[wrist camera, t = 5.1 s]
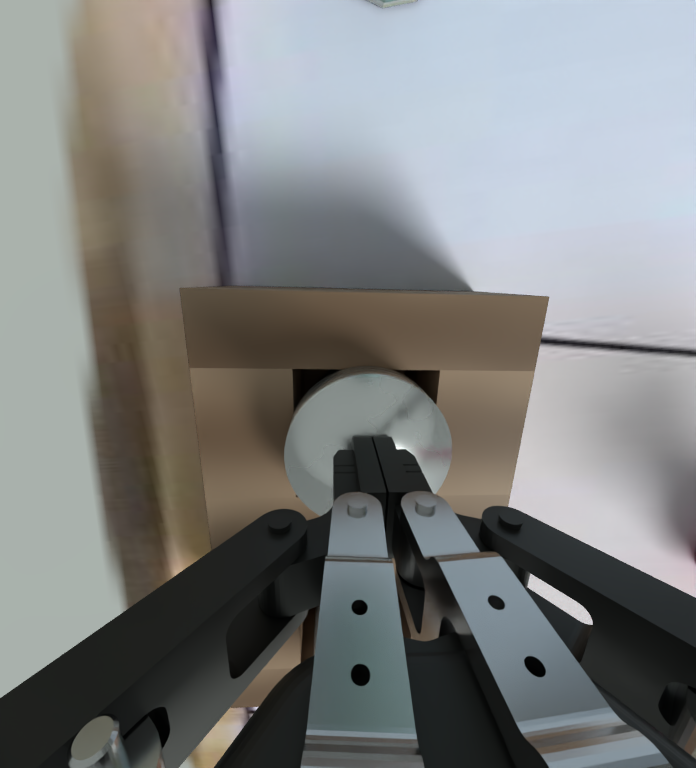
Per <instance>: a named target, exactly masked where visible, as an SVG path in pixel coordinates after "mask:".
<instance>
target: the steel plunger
mask: <svg viewBox="0 0 696 768" xmlns="http://www.w3.org/2000/svg"><path fill="white" fill-rule="evenodd" d="M352 437H371V438H372V437H392V439H393V441H394V443H395V446H396V448H397V449H406V450H407V451H409V452H410V453H411V454H413V455H414V456H415V458H416V460H417V462H418V464H419V466H420V468H421V470H422V473H423V474H424V476H425V478H426V480H427V482H428V484H429V486H430V488H431V490H432V492H433V493H434V494H436V493H437V491H438V490H439V489H440V487H441V486H442V484H443V482H444V480H445V478H446V476H447V473H448V470H449V467H450V463H451V458H452V439H451V434H450V430H449V427H448V424H447V422H446V419H445V418H444V416H443V414H442V412H441V411H440V409H439V408H438V407H437V406H436V404H435V403H434V402H433V401H432V400H431V398H430V397H429V396H428V395H427V394H426V393H425V392H424V390H423V389H422V388H421V387H420V386H419V385H418V384H416V383H415V382H414V381H413V380H411V379H410V378H408V377H407V376H405V375H403V374H401V373H399V372H397V371H394V370H391V369H388V368H383V367H378V366H356V367H351V368H346V369H329V370H328V371H327V372H326V373H325V375H324V376H323V378H322V380H320V381H319V382H317V383H316V384H315V385H314V386H313V387H311V388H310V389H309V390H308V392H307V393H306V394H305V395H304V396H303V398H302V399H301V400H300V402H299V403H298V405H297V407H296V409H295V411H294V414H293V417H292V420H291V423H290V427H289V430H288V434H287V438H286V443H285V448H284V462H285V470H286V473H287V477H288V480H289V482H290V484H291V487H292V488H293V490H294V491H295V493H296V495H297V496H298V497H299V498H300V500H301V501H302V502H303V503H304V504H305V505H306V506H307V507H308V508H309V509H311V510H312V511H313V512H315V513H316V514H318V515H319V516H322V515H324V514H325V513H327V512H328V511H329V510H330V509H331V508H332V506H333V457H334V455H335V454H336V453H337V451H338V450H352Z"/></svg>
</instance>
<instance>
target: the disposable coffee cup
mask: <svg viewBox="0 0 696 768" xmlns="http://www.w3.org/2000/svg"><path fill="white" fill-rule="evenodd" d="M367 1H369V2H371V3H373V4H375V5H377V6H379V7H381V8H386V7H391V6H396V5H401V4H406V3H411V2H416V1H418V0H367Z"/></svg>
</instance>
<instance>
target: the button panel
mask: <svg viewBox="0 0 696 768" xmlns="http://www.w3.org/2000/svg"><path fill="white" fill-rule="evenodd" d="M180 296H181V304H182V312H183V321H184V329H185V337H186V345H187V353H188V361H189V370H190V378H191V386H192V394H193V402H194V411H195V419H196V427H197V435H198V443H199V452H200V460H201V468H202V476H203V484H204V492H205V501H206V509H207V517H208V525H209V533H210V542H211V550H213V549H215V548H216V547H218V546H219V545H220V544H222V543H223V542H225V541H226V540H228V539H229V538H230V537H232V536H233V535H235V534H236V533H238V532H239V531H240V530H242V529H243V528H245V527H246V526H248V525H249V524H251V523H252V522H253V521H255V520H256V519H258V518H259V517H261V516H262V515H264V514H265V513H267V512H270V511H273V510H277V509H291V510H295V511H297V512H299V513H301V514H302V515H303V516H304V517H305V518H306V521H307V520H310V519H314V518H317V517H320V516H319V515H318V514H316V513H315V512H313V511H312V510H311V509H309V508H308V507H307V506H306V505H305V504H304V503H303V502H302V501H301V500H300V498H299V497H298V496H297V495H296V493H295V491H294V490H293V488H292V487H291V484H290V482H289V480H288V477H287V473H286V470H285V462H284V448H285V443H286V438H287V434H288V430H289V427H290V423H291V420H292V417H293V414H294V411H295V409H296V407H297V405H298V403H299V402H300V400H301V399H302V398H303V396H304V395H305V394H306V393H307V392H308V390H309V389H310V388H311V387H313V386H314V385H315V384H316V383H317V382H319V381H320V380H322V378H323V376H324V375H325V373H326V372H327V371H328V370H329V369H346V368H351V367H356V366H378V367H383V368H388V369H391V370H394V371H397V372H399V373H401V374H403V375H405V376H407V377H408V378H410V379H411V380H413V381H414V382H415V383H416V384H418V385H419V386H420V387H421V388H422V389H423V390H424V392H425V393H426V394H427V395H428V396H429V397H430V398H431V400H432V401H433V402H434V403H435V404H436V406H437V407H438V408H439V409H440V411H441V412H442V414H443V416H444V418H445V419H446V422H447V424H448V427H449V430H450V434H451V439H452V458H451V463H450V467H449V470H448V473H447V476H446V478H445V480H444V482H443V484H442V486H441V487H440V489H439V490H438V491H437V493H436V495H438V496H440V497H442V498H443V499H445V500H446V501H447V503H448V504H449V505H450V507H451V508H452V510H453V511H454V513H457V514H460V515H464V516H469V517H474V518H479V519H481V518H482V513H483V511H484V510H485V509H486V508H488V507H491V506H506V507H508V504H509V498H510V493H511V488H512V483H513V478H514V473H515V468H516V463H517V458H518V453H519V448H520V443H521V438H522V433H523V428H524V422H525V417H526V412H527V407H528V402H529V397H530V392H531V387H532V382H533V377H534V372H535V367H536V362H537V357H538V352H539V346H540V341H541V336H542V331H543V326H544V321H545V316H546V311H547V306H548V301H549V297H547V296H532V295H518V294H503V293H489V292H474V291H433V290H390V289H348V288H306V287H263V286H217V287H195V288H180ZM392 561H393V567H394V574H395V569H396V564H395V560H394V558H392ZM396 589H397V587H396ZM397 596H398V603H399V611H400V618H401V625H402V633H403V637H406V638H410V639H412V636H411V633H410V629H409V626H408V623H407V620H406V616H405V613H404V610H403V607H402V603H401V600H400V597H399V593H398V590H397ZM315 608H316V607H314V608H312V609H309V610H308V613H307V616H306V618H305V620H304V621H303V622H302V624H301V625H300V626H299V627H298V628H297V629H296V631H295V632H294V633H293V634H292V635H291V636H290V638H289V639H288V640H287V641H286V642H285V643H284V645H283V646H282V647H281V648H280V649H279V650H278V652H277V653H276V654H275V655H274V656H273V658H272V659H271V660H270V661H269V662H268V663H267V665H266V666H265V667H264V668H263V669H262V670H261V672H260V673H259V674H258V675H257V676H256V677H255V679H254V680H253V681H252V682H251V683H250V684H249V686H248V687H247V688H246V689H245V690H244V692H243V693H242V694H241V695H240V696H239V697H238V699H237V700H236V701H235V702H234V703H233V704H232V706H231V708H239V707H259V706H260V705H261V703H262V702H263V701H264V699H265V698H266V696H267V695H268V694H269V693H270V691H271V690H272V689H273V688H274V686H275V685H276V684H277V683H278V682H279V681H280V680H281V679H282V678H283V677H284V676H285V675H286V674H287V673H288V672H290V671H291V670H292V669H293V668H294V667H296V666H297V665H298V664H300V663H301V662H303V661H304V660H306V659H308V658H310V657H312V656H313V655H314V632H315Z"/></svg>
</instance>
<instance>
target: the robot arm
mask: <svg viewBox="0 0 696 768" xmlns="http://www.w3.org/2000/svg"><path fill="white" fill-rule="evenodd" d="M392 558H394V560H395V564H396V569H395V574H394V567H393V561H392ZM530 573H531V574H533V575H534V576H536V577H537V578H539V579H541V580H542V581H544V582H546V583H547V584H549V585H551V586H552V587H554V588H555V589H557V590H559V591H560V592H562V593H564V594H565V595H567V596H569V597H570V598H572V599H573V600H575V601H577V602H578V603H580V604H581V605H582V606H583V607H584V608H585V609H586V610H587V611H588V612H589V614H590V615H591V618H592V620H593V625H588V624H584V623H582V622H580V621H578V620H577V619H575V618H574V617H572V616H571V615H569V614H568V613H566V612H564V611H563V610H561V609H560V608H558V607H557V606H555V605H554V604H552V603H550V602H549V601H547V600H546V599H544V598H543V597H541V596H540V595H538V594H537V593H535V592H533V591H532V590H530V589H529V588H527V585H528V581H529V576H530ZM396 587H397V589H396ZM397 590H398V593H399V597H400V600H401V603H402V607H403V610H404V613H405V616H406V620H407V623H408V626H409V629H410V633H411V636H412V639H410V638H406V637H403V633H402V625H401V618H400V611H399V603H398V596H397ZM317 606H320V611H319V621H318V630H317V639H316V648H315V655H314V656H312V657H310V658H308V659H306V660H304V661H303V662H301V663H300V664H298V665H297V666H296V667H294V668H293V669H292V670H291V671H290V672H288V673H287V674H286V675H285V676H284V677H283V678H282V679H281V680H280V681H279V682H278V683H277V684H276V685H275V686H274V688H273V689H272V690H271V691H270V693H269V694H268V695H267V696H266V698H265V699H264V701H263V702H262V703H261V705H260V706H259V707H258V709H257V710H256V711H255V713H254V714H253V715H252V717H251V718H250V719H249V721H248V722H247V724H246V725H245V726H244V728H243V729H242V730H241V732H240V733H239V734H238V736H237V737H236V738H235V740H234V741H233V742H232V744H231V745H230V747H229V748H228V749H227V751H226V752H225V753H224V755H223V756H222V757H221V759H220V760H219V761H218V763H217V764H216V765H215V767H214V768H696V598H695V597H693V596H691V595H689V594H687V593H685V592H683V591H681V590H679V589H677V588H675V587H673V586H670V585H668V584H666V583H664V582H662V581H660V580H658V579H656V578H654V577H652V576H650V575H648V574H646V573H644V572H642V571H640V570H638V569H636V568H634V567H632V566H630V565H628V564H626V563H624V562H622V561H620V560H618V559H616V558H614V557H612V556H610V555H608V554H606V553H604V552H602V551H600V550H598V549H596V548H594V547H592V546H590V545H588V544H586V543H584V542H581V541H579V540H577V539H575V538H573V537H571V536H569V535H567V534H565V533H563V532H561V531H559V530H557V529H555V528H553V527H551V526H549V525H547V524H545V523H543V522H541V521H539V520H537V519H535V518H533V517H531V516H529V515H527V514H525V513H523V512H521V511H519V510H516V509H513V508H510V507H506V506H491V507H488V508H486V509H485V510H484V511H483V513H482V518H481V519H479V518H474V517H469V516H464V515H460V514H457V513H454V511H453V510H452V508H451V507H450V505H449V504H448V503H447V501H446V500H445V499H443V498H442V497H440V496H438V495H436V494H434V493H433V492H432V490H431V488H430V486H429V484H428V482H427V480H426V478H425V476H424V474H423V473H422V470H421V468H420V466H419V464H418V462H417V460H416V458H415V456H414V455H413V454H411V453H410V452H409V451H407V450H406V449H397V448H396V446H395V443H394V441H393V439H392V437H372V438H371V437H352V450H338V451H337V453H336V454H335V455H334V457H333V506H332V508H331V509H330V510H329V511H328V512H327V513H325V514H324V515H322V516H320V517H317V518H314V519H310V520H307V521H306V518H305V517H304V516H303V515H302V514H301V513H299V512H297V511H295V510H291V509H277V510H273V511H270V512H267V513H265V514H264V515H262V516H261V517H259V518H258V519H256V520H255V521H253V522H252V523H251V524H249V525H248V526H246V527H245V528H243V529H242V530H240V531H239V532H238V533H236V534H235V535H233V536H232V537H230V538H229V539H228V540H226V541H225V542H223V543H222V544H220V545H219V546H218V547H216V548H215V549H213V550H212V551H210V552H209V553H208V554H206V555H205V556H203V557H202V558H200V559H199V560H198V561H196V562H195V563H193V564H192V565H190V566H189V567H187V568H186V569H185V570H183V571H182V572H180V573H179V574H177V575H176V576H175V577H173V578H172V579H170V580H169V581H167V582H166V583H165V584H163V585H162V586H160V587H159V588H157V589H156V590H155V591H153V592H152V593H150V594H149V595H147V596H146V597H145V598H143V599H142V600H140V601H139V602H137V603H136V604H135V605H133V606H132V607H130V608H129V609H127V610H126V611H124V612H123V613H122V614H120V615H119V616H117V617H116V618H115V619H113V620H112V621H110V622H109V623H107V624H106V625H104V626H103V627H102V628H100V629H99V630H97V631H96V632H94V633H93V634H92V635H90V636H89V637H87V638H86V639H85V640H83V641H82V642H80V643H79V644H77V645H76V646H74V647H73V648H72V649H70V650H69V651H67V652H66V653H64V654H63V655H61V656H60V657H59V658H57V659H56V660H54V661H53V662H52V663H50V664H49V665H47V666H46V667H45V668H43V669H42V670H40V671H39V672H37V673H36V674H34V675H33V676H31V677H30V678H29V679H27V680H26V681H24V682H23V683H21V684H20V685H19V686H17V687H16V688H14V689H13V690H11V691H10V692H9V693H7V694H6V695H4V696H3V697H2V698H0V768H179V767H180V765H181V764H182V763H183V762H184V761H185V760H186V758H187V757H188V756H189V755H190V754H191V752H192V751H193V750H194V749H195V748H196V747H197V745H198V744H199V743H200V742H201V741H202V740H203V738H204V737H205V736H206V735H207V734H208V733H209V731H210V730H211V729H212V728H213V727H214V726H215V724H216V723H217V722H218V721H219V720H220V718H221V717H222V716H223V715H224V714H225V713H226V711H227V710H228V709H229V708H230V707H231V706H232V704H233V703H234V702H235V701H236V700H237V699H238V697H239V696H240V695H241V694H242V693H243V692H244V690H245V689H246V688H247V687H248V686H249V684H250V683H251V682H252V681H253V680H254V679H255V677H256V676H257V675H258V674H259V673H260V672H261V670H262V669H263V668H264V667H265V666H266V665H267V663H268V662H269V661H270V660H271V659H272V658H273V656H274V655H275V654H276V653H277V652H278V650H279V649H280V648H281V647H282V646H283V645H284V643H285V642H286V641H287V640H288V639H289V638H290V636H291V635H292V634H293V633H294V632H295V631H296V629H297V628H298V627H299V626H300V625H301V624H302V622H303V621H304V620H305V618H306V616H307V613H308V610H309V609H312V608H314V607H317Z"/></svg>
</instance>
